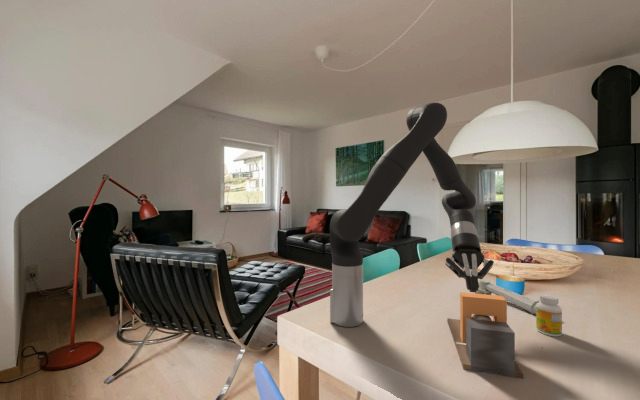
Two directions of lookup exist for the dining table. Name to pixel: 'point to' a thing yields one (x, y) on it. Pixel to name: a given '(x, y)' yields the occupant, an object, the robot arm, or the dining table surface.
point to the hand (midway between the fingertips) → (473, 290)
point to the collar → (481, 309)
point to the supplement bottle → (549, 316)
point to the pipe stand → (486, 346)
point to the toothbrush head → (507, 295)
